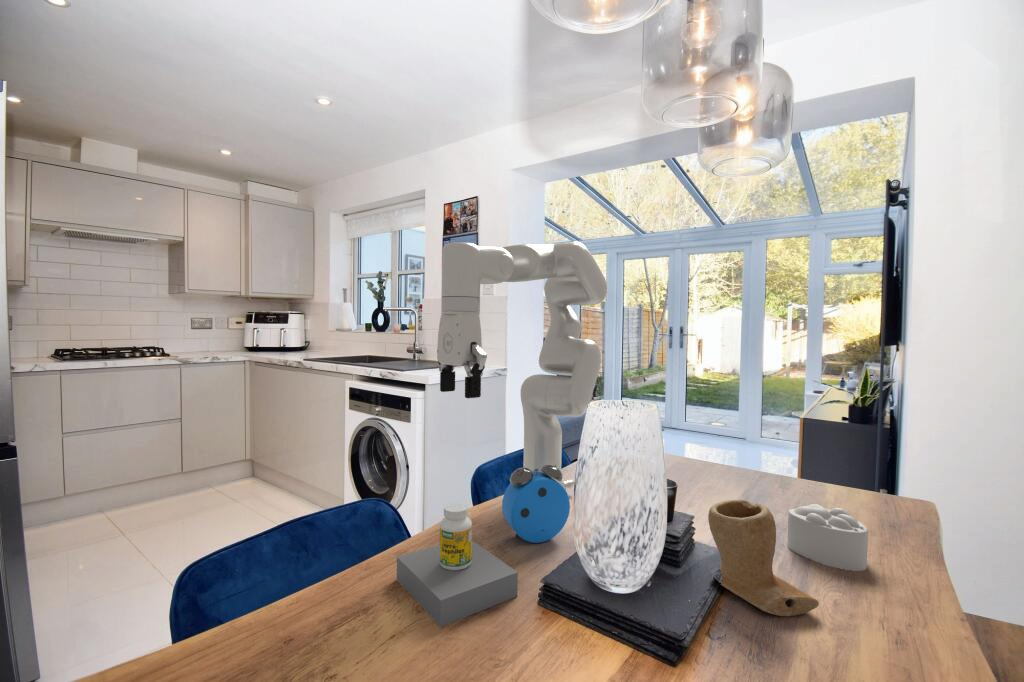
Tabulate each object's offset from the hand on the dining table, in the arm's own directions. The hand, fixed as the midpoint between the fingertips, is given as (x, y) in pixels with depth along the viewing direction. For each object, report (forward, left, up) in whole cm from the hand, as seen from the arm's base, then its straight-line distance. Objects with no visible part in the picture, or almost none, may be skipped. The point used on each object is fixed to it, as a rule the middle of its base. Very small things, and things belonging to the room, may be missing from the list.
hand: (459, 394), depth 95 cm
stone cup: (-31, +43, -31) cm, 61 cm away
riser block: (+8, +13, -30) cm, 34 cm away
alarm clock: (-15, +6, -31) cm, 35 cm away
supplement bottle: (+8, +13, -26) cm, 30 cm away
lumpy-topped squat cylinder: (-58, +44, -31) cm, 79 cm away
